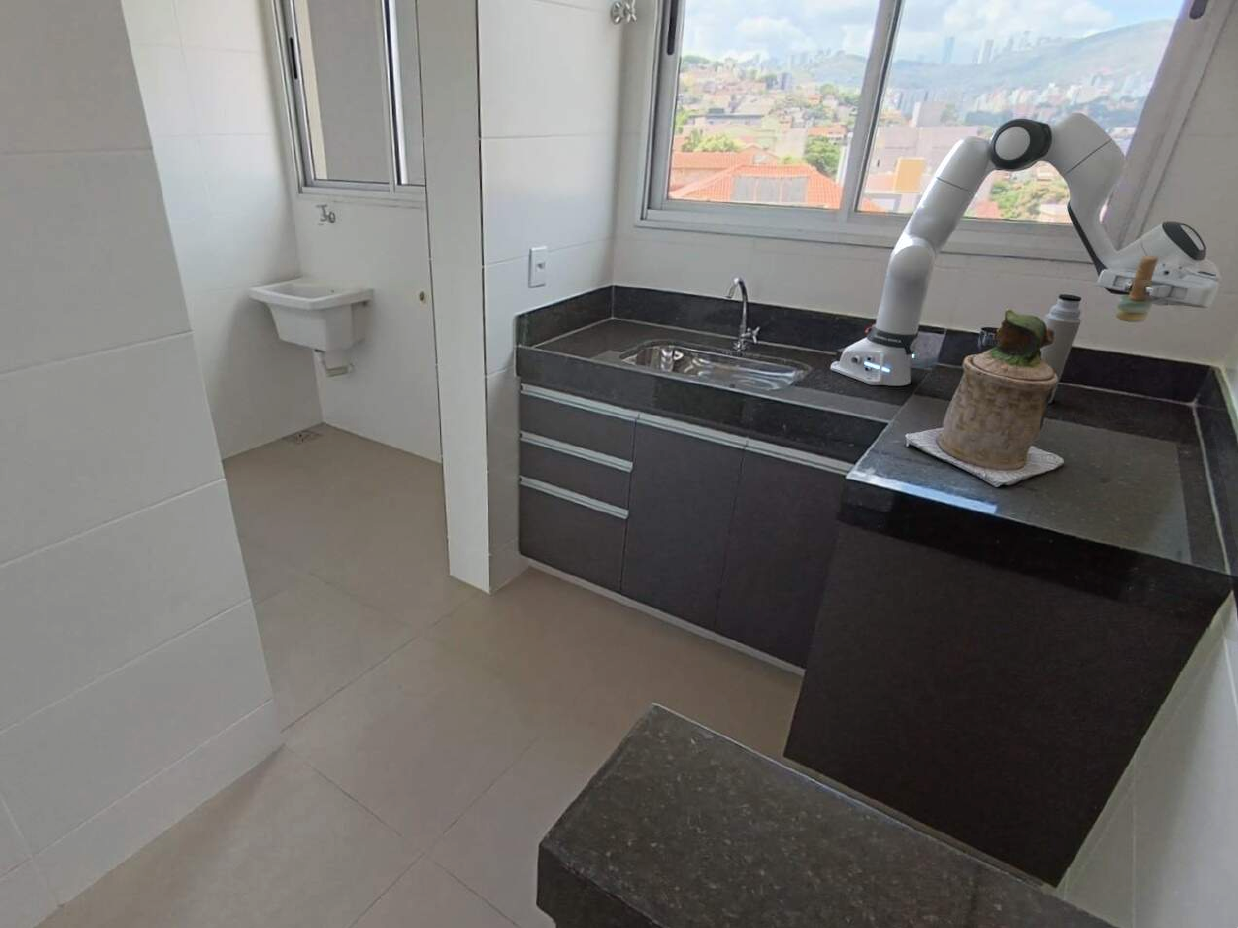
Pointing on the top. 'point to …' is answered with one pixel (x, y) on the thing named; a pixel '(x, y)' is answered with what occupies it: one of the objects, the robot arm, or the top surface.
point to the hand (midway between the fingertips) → (1137, 289)
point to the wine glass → (987, 339)
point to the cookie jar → (999, 408)
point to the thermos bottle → (1061, 333)
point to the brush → (1138, 293)
